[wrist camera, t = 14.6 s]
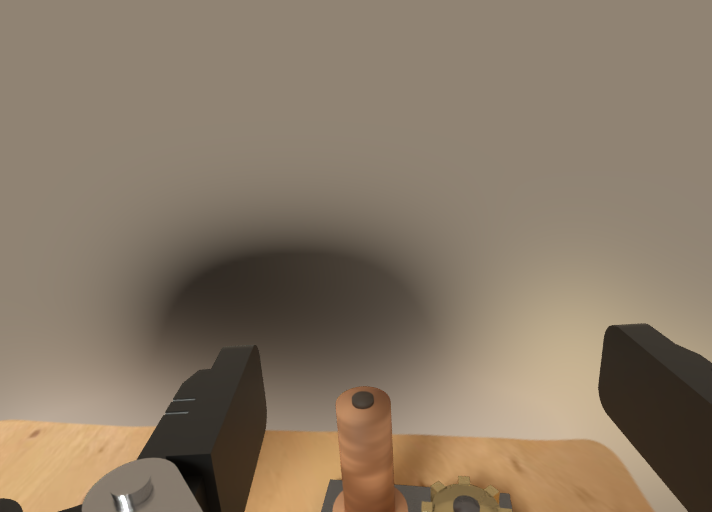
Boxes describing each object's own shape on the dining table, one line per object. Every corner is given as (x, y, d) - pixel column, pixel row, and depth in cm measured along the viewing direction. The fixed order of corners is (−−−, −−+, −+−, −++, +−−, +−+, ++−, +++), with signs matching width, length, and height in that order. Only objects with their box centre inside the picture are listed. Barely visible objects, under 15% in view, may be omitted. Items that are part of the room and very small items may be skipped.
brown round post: (326, 558, 35) (312, 422, 32) (342, 495, 41) (331, 373, 37) (405, 567, 34) (400, 427, 31) (410, 501, 40) (406, 376, 36)
